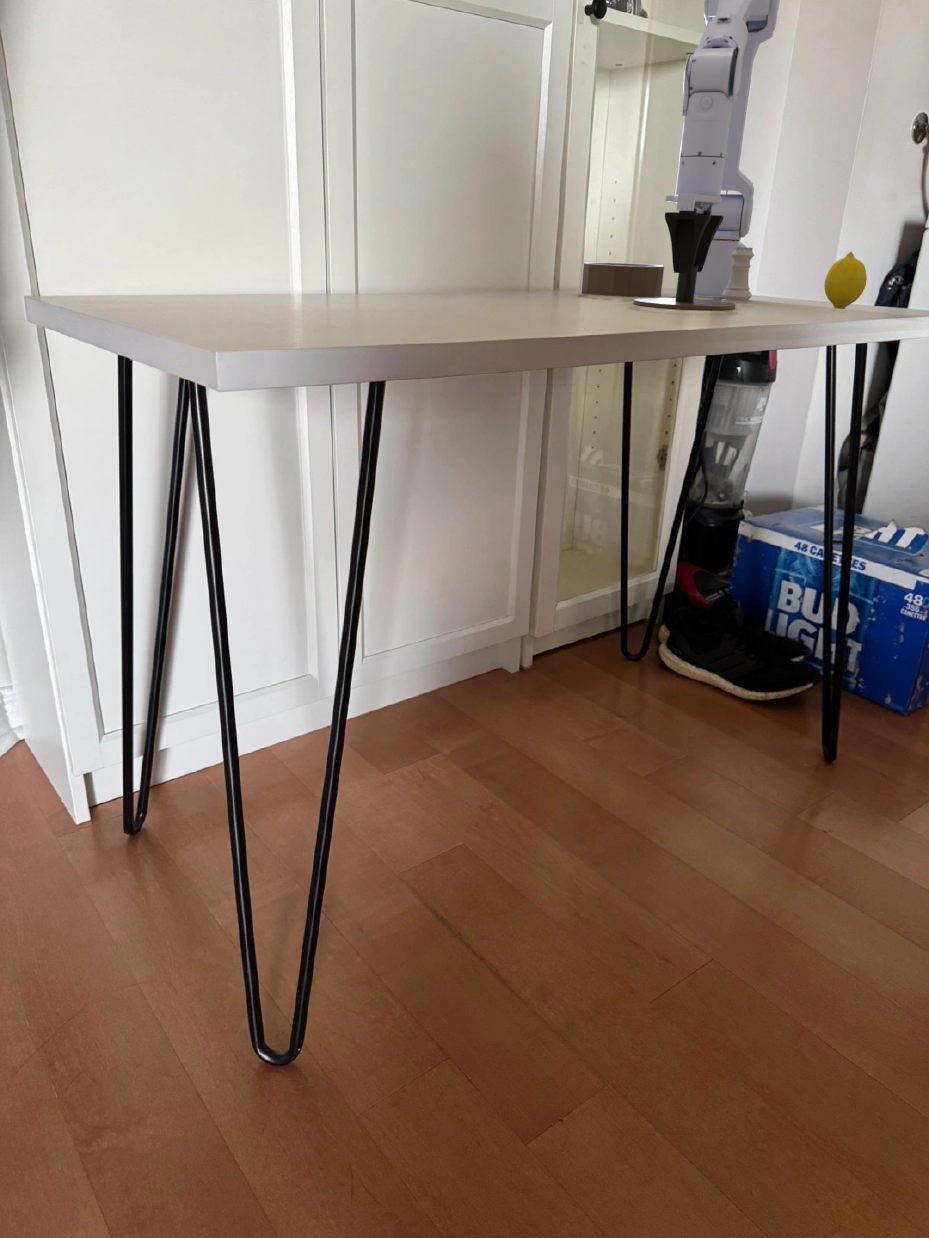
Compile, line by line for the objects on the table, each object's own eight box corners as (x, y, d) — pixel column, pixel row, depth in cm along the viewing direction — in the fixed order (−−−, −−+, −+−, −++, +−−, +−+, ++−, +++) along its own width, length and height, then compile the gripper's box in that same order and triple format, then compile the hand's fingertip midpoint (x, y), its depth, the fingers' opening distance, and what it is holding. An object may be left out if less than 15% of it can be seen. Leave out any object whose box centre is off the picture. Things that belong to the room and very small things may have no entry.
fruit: (867, 311, 129) (879, 252, 126) (848, 312, 125) (860, 252, 122) (831, 308, 133) (842, 251, 129) (812, 309, 129) (823, 250, 126)
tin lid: (679, 305, 129) (684, 264, 126) (755, 313, 119) (762, 269, 117) (612, 307, 121) (616, 263, 119) (688, 316, 111) (694, 268, 109)
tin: (620, 294, 148) (623, 262, 146) (676, 300, 139) (680, 266, 137) (565, 295, 142) (567, 262, 140) (620, 301, 132) (623, 266, 131)
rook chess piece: (743, 304, 134) (751, 247, 131) (755, 307, 130) (764, 248, 127) (715, 304, 133) (723, 246, 130) (726, 306, 129) (735, 247, 126)
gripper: (682, 163, 120) (669, 270, 126) (658, 153, 108) (645, 272, 113) (735, 163, 118) (720, 272, 123) (716, 153, 105) (700, 275, 111)
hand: (687, 272), depth 118 cm, fingers open, 7 cm apart
